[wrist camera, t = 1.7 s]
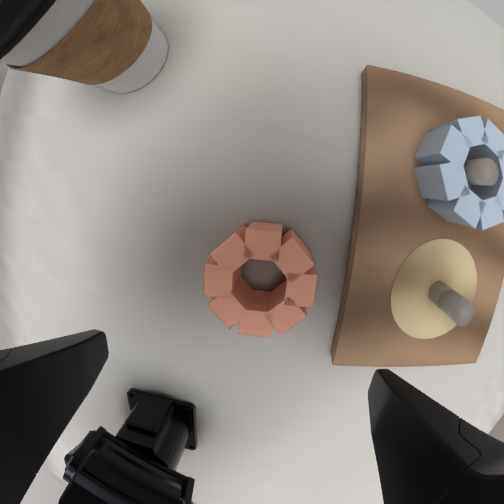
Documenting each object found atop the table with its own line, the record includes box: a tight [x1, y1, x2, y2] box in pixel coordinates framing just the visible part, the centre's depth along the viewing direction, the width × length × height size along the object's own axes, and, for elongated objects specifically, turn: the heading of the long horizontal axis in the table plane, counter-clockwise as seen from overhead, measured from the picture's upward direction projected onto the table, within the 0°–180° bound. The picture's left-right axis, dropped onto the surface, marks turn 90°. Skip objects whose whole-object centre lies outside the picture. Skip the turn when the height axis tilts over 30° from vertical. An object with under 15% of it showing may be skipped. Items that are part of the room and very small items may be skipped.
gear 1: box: [204, 221, 317, 337], centre depth 18 cm, size 6×6×4 cm
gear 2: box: [414, 116, 504, 230], centre depth 14 cm, size 6×6×4 cm
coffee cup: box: [0, 0, 168, 93], centre depth 10 cm, size 8×8×15 cm
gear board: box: [331, 65, 504, 367], centre depth 15 cm, size 20×13×6 cm, turn 176°
